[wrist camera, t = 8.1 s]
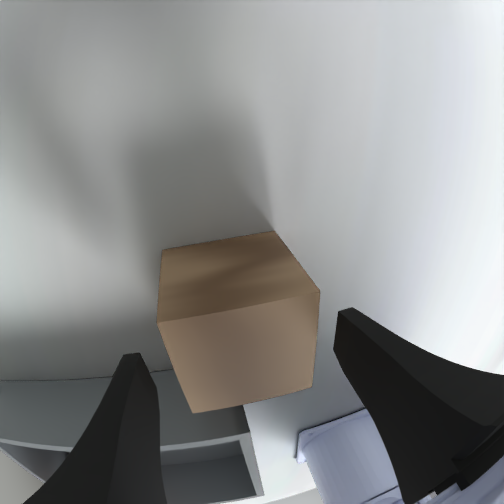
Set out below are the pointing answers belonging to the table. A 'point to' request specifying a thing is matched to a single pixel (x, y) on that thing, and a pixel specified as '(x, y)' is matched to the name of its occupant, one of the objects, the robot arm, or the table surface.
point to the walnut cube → (237, 320)
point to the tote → (171, 436)
